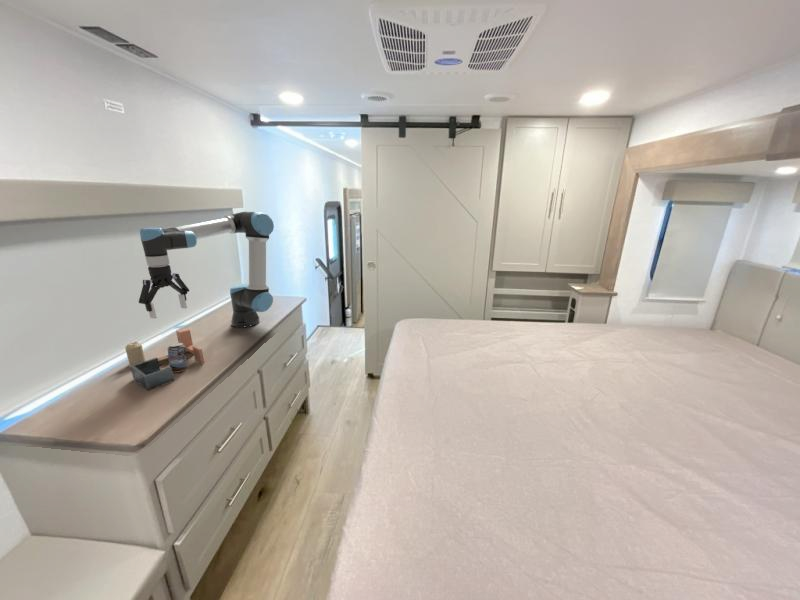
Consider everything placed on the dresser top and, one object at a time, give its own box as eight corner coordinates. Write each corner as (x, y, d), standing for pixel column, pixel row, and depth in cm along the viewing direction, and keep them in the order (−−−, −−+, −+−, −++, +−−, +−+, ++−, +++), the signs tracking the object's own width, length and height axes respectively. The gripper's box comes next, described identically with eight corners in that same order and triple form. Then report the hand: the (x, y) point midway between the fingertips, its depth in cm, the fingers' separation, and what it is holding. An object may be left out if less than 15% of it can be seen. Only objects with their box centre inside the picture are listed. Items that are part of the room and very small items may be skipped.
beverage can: (168, 375, 129) (161, 349, 126) (175, 366, 136) (169, 341, 132) (185, 373, 131) (179, 347, 127) (191, 364, 138) (186, 340, 134)
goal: (159, 369, 133) (156, 357, 131) (174, 380, 126) (171, 367, 124) (133, 379, 126) (129, 366, 124) (147, 390, 119) (144, 377, 117)
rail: (191, 353, 148) (190, 347, 147) (194, 355, 146) (193, 349, 145) (151, 367, 135) (149, 360, 134) (154, 369, 133) (152, 363, 133)
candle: (144, 359, 142) (138, 339, 139) (147, 363, 138) (142, 342, 135) (128, 363, 137) (122, 343, 134) (131, 367, 134) (126, 346, 131)
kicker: (190, 352, 148) (185, 327, 144) (207, 361, 140) (203, 336, 136) (181, 355, 145) (175, 330, 141) (198, 365, 136) (193, 339, 133)
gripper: (180, 259, 143) (189, 303, 149) (119, 270, 120) (132, 321, 127) (192, 261, 141) (201, 305, 147) (132, 272, 118) (145, 323, 124)
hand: (169, 312), depth 137 cm, fingers open, 13 cm apart
